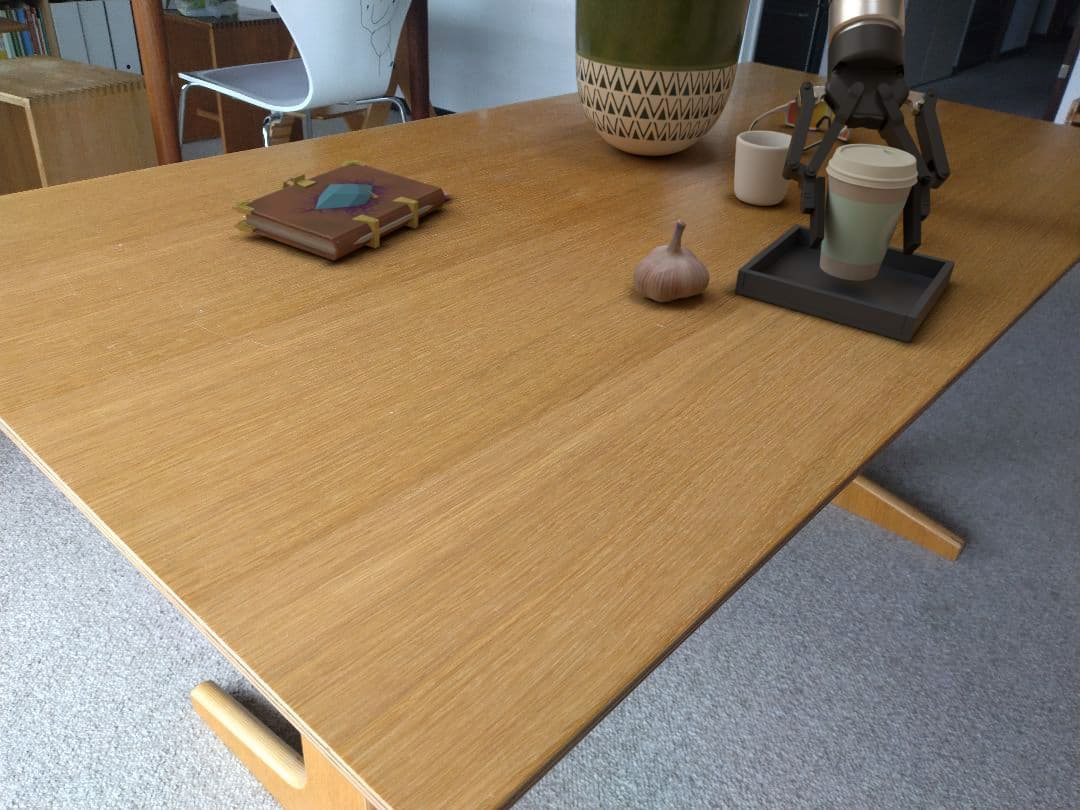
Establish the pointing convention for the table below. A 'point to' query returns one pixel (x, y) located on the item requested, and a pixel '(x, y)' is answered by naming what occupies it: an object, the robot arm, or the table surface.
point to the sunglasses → (817, 119)
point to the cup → (761, 167)
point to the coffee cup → (863, 207)
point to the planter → (656, 68)
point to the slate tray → (847, 286)
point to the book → (339, 209)
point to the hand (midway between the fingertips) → (864, 246)
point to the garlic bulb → (670, 271)
